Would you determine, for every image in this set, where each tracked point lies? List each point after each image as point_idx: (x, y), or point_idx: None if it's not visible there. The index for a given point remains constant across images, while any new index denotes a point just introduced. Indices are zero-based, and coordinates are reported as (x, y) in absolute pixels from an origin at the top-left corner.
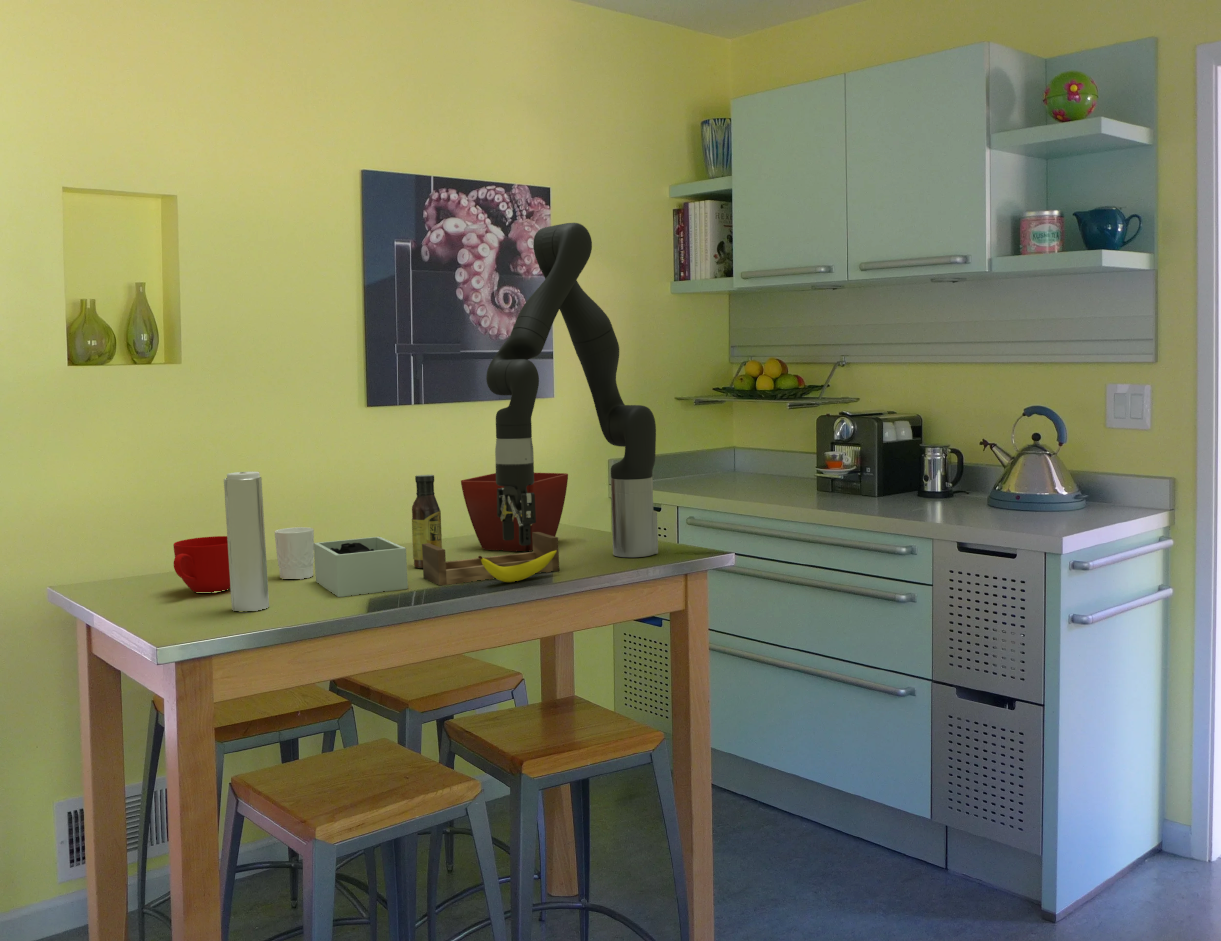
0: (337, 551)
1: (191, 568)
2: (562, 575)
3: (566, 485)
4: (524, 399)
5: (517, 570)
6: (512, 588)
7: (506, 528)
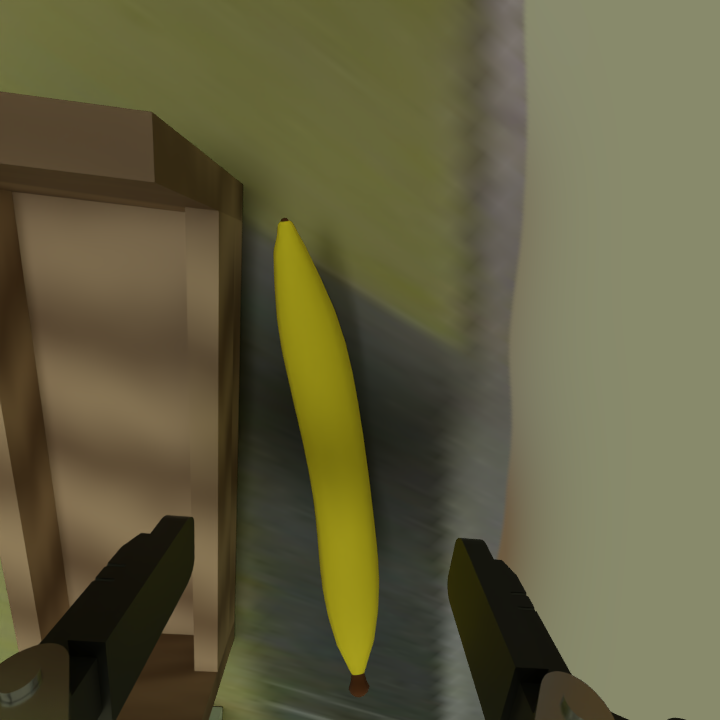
0: None
1: None
2: (350, 234)
3: None
4: None
5: (360, 470)
6: (437, 501)
7: (147, 638)
